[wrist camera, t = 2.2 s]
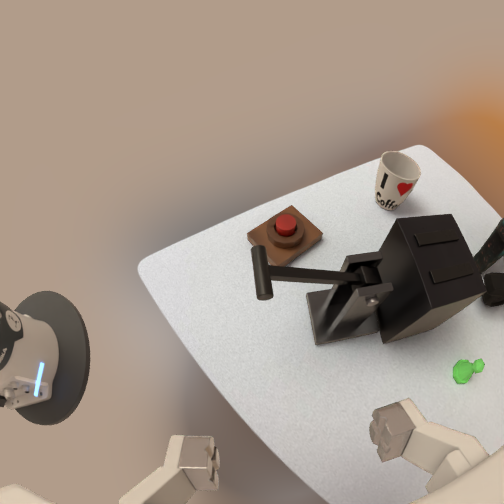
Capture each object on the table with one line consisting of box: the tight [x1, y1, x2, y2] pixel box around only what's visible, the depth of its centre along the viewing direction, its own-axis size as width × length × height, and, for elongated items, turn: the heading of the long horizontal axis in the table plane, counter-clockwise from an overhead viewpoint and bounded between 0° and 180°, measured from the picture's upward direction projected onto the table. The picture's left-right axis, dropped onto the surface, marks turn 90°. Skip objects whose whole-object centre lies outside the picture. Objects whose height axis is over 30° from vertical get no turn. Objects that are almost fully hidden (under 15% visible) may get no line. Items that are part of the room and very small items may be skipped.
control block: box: [247, 205, 323, 266], centre depth 46 cm, size 10×8×4 cm
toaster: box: [375, 214, 486, 344], centre depth 33 cm, size 10×12×15 cm
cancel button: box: [276, 214, 296, 237], centre depth 44 cm, size 3×3×2 cm
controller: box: [483, 273, 504, 307], centre depth 34 cm, size 4×12×10 cm, turn 82°
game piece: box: [453, 359, 485, 384], centre depth 29 cm, size 4×4×6 cm
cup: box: [375, 151, 421, 210], centre depth 47 cm, size 8×8×10 cm
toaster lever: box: [251, 245, 383, 300], centre depth 27 cm, size 15×5×2 cm, turn 96°
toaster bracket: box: [306, 251, 394, 345], centre depth 34 cm, size 10×8×14 cm
